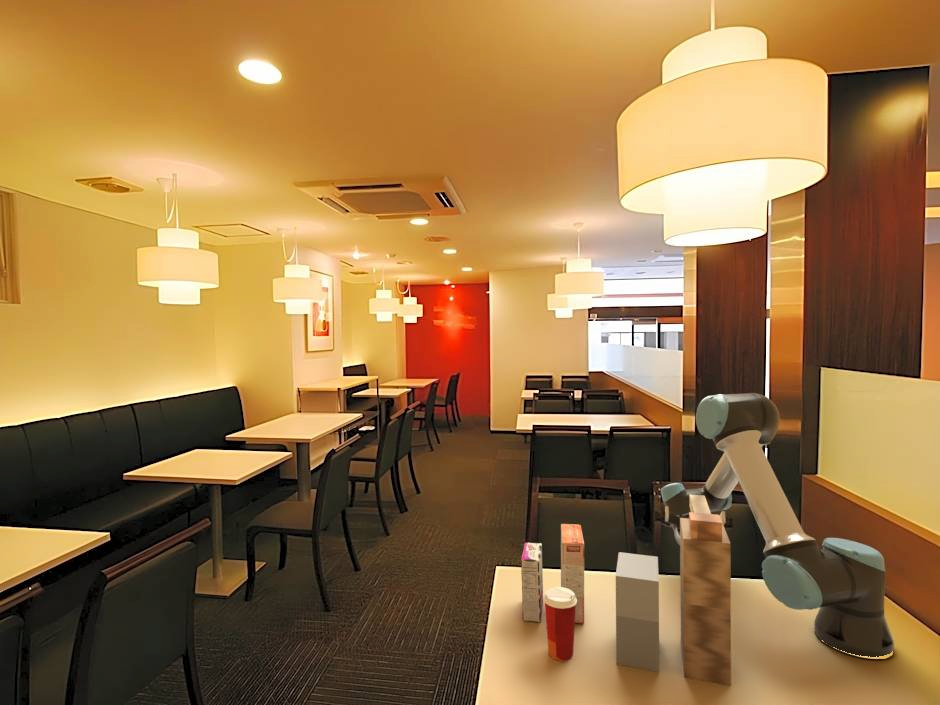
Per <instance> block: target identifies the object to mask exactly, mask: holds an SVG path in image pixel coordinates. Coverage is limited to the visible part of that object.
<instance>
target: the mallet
mask: <svg viewBox="0 0 940 705" xmlns="http://www.w3.org/2000/svg"><path fill="white" fill-rule="evenodd" d="M689 501H690V510H691V512H689V532H690V536H691V539H700V540H710V541H719V542H722V521H721V519H720V516H719V515H720V514H713V513H712V511H711V512H710V510H709V507H708V504H707V501H706V498H705V496H704V495H691V494H689Z"/></svg>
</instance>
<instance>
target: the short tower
mask: <svg viewBox="0 0 940 705" xmlns="http://www.w3.org/2000/svg"><path fill="white" fill-rule="evenodd" d="M659 577H660V576H659V557H658V556H655V555H646V554H645V555H644V554H639V553H638V554H637V553H629V552H623V551H622V552H621V551H620V552H618V555H617V563H616V571H615V644H616V645H615V646H616V647H615V648H616V649H615V650H616V651H615V652H616V657H615V658H616V665H620V666H625V667H631V668H635V669H641V670H647V671H651V672H657V673H659V672H660V588H659V587H660V584H659V583H660V578H659Z"/></svg>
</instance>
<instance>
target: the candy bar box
mask: <svg viewBox="0 0 940 705" xmlns="http://www.w3.org/2000/svg"><path fill="white" fill-rule="evenodd" d="M542 548H543V544H542V543H541V542H540V543H538V542H524V544H523V550H522V551H523V552H522V555H521V560H520V561H521V562H520V565H521V566H520V568H521V569H520V570H521V591H522V592H521V593H522V594H521V598H522V599H521V600H522V603H521V604H522V605H521V606H522V621H523V622H530V621H533V622H532V623H541V622H542V614H543V605H544V600H543V596H544V584H543V583H544V582H543V579H544V578H543V549H542Z"/></svg>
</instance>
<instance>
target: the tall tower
mask: <svg viewBox="0 0 940 705" xmlns="http://www.w3.org/2000/svg"><path fill="white" fill-rule="evenodd" d="M679 547H680V548H679V560H680V561H679V562H680V563H679V566H680V567H679V573H680V574H679V575H680V576H679V579H680V580H679V584H680V585H679V587H680V589H679V590H680V592H679V593H680V594H679V597H680V600H679V601H680V608H679V610H680V612H679V613H680V647H681V648H680V649H681V650H680V651H681V657H682V658H681V660H682V669H683V676H684V678H688V679H695V680H699V681H704V682H709V683H710V682H711V683H716V684H720V685H726V686H732V627H731V626H732V624H731V623H732V622H731V620H732V616H731V615H732V611H731V610H732V609H731V608H732V605H731V604H732V601H731V600H732V597H731V596H732V594H731V593H732V589H731V588H732V587H731V586H732V585H731V583H732V582H731V580H732V579H731V578H732V576H731V574H732V573H731V572H732V571H731V570H732V569H731V568H732V567H731V562H732V561H731V559H732V558H731V557H732V555H731V552H732V550H731V548H732V547H731V541H730V538H729V535H728V534H727V530H725V528H724V526H723V523H722V542H719V541H710V540H700V539H691V536H690V532H689V519H687V518H680V545H679Z"/></svg>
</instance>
